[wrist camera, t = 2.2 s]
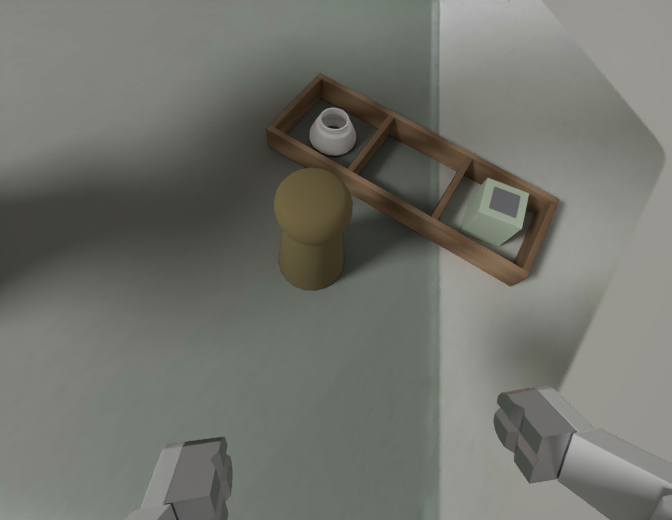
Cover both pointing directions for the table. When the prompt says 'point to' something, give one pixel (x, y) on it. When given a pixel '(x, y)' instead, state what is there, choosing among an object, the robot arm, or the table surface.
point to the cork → (312, 227)
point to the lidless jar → (332, 132)
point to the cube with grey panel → (495, 212)
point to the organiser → (428, 145)
